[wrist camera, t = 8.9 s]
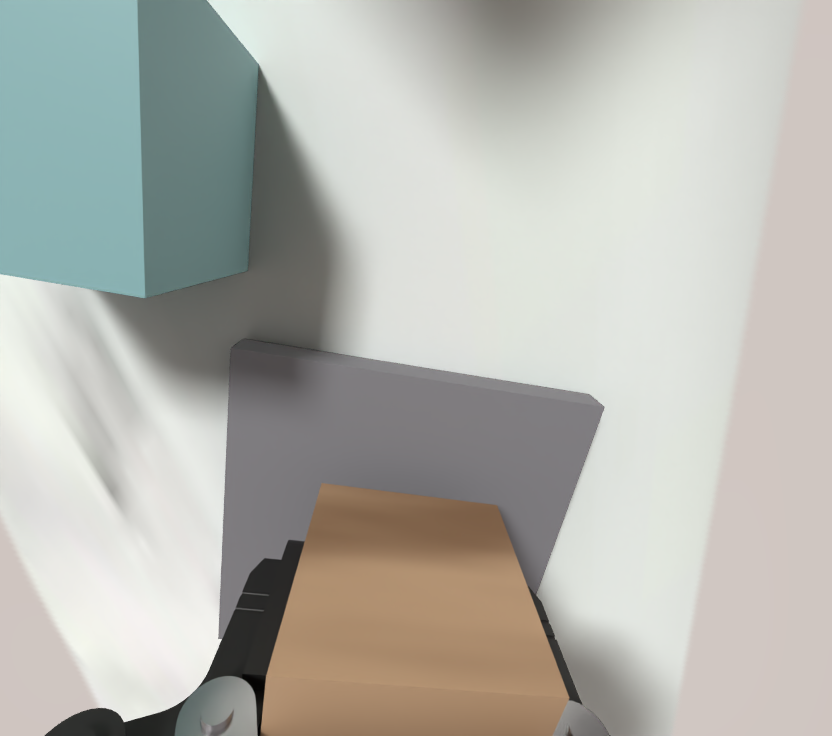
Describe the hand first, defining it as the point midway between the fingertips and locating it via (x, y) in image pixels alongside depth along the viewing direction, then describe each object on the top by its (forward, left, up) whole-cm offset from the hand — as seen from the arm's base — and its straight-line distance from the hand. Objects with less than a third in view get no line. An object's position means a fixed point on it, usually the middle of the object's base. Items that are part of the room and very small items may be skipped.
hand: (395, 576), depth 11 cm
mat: (0, 0, -3) cm, 3 cm away
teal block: (-10, -8, -3) cm, 13 cm away
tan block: (0, 0, 0) cm, 0 cm away
